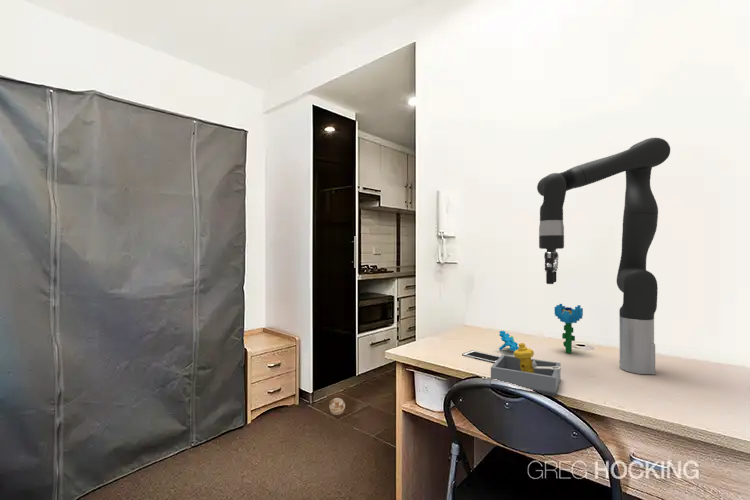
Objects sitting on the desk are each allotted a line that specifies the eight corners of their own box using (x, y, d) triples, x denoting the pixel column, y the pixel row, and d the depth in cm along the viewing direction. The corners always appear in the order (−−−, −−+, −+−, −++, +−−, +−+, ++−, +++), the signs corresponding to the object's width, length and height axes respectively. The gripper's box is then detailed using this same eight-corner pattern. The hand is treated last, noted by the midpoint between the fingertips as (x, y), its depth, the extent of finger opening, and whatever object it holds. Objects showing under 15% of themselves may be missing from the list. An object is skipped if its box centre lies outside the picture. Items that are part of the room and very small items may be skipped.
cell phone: (498, 365, 123) (498, 362, 123) (461, 356, 134) (461, 354, 134) (508, 360, 129) (508, 358, 129) (472, 352, 139) (472, 350, 139)
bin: (560, 379, 109) (560, 362, 109) (555, 396, 96) (555, 378, 96) (502, 369, 118) (502, 354, 118) (490, 384, 105) (490, 367, 105)
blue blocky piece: (518, 354, 132) (498, 331, 136) (506, 363, 135) (487, 341, 138) (524, 347, 142) (506, 326, 145) (512, 355, 144) (495, 335, 148)
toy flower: (579, 357, 131) (579, 307, 131) (552, 353, 137) (552, 305, 137) (584, 351, 138) (584, 305, 138) (558, 348, 144) (558, 302, 144)
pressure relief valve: (523, 374, 111) (516, 341, 112) (565, 375, 103) (557, 340, 104) (517, 380, 107) (510, 346, 107) (560, 382, 99) (552, 345, 100)
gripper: (562, 233, 113) (562, 285, 113) (565, 235, 125) (565, 281, 125) (536, 234, 117) (536, 284, 117) (541, 235, 129) (541, 281, 129)
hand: (551, 283), depth 121 cm, fingers open, 8 cm apart
